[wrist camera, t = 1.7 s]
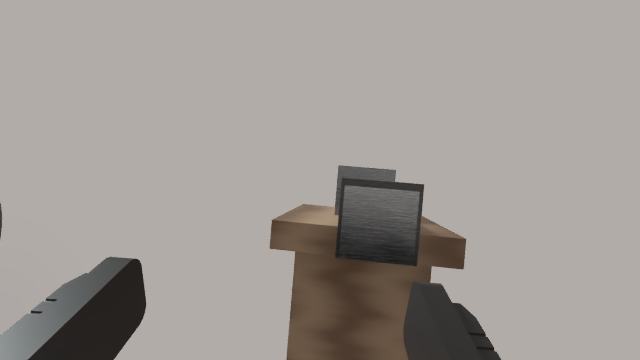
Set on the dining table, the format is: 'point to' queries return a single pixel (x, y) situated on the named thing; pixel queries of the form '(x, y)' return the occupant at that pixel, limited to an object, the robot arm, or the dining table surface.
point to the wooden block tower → (352, 288)
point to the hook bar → (377, 216)
